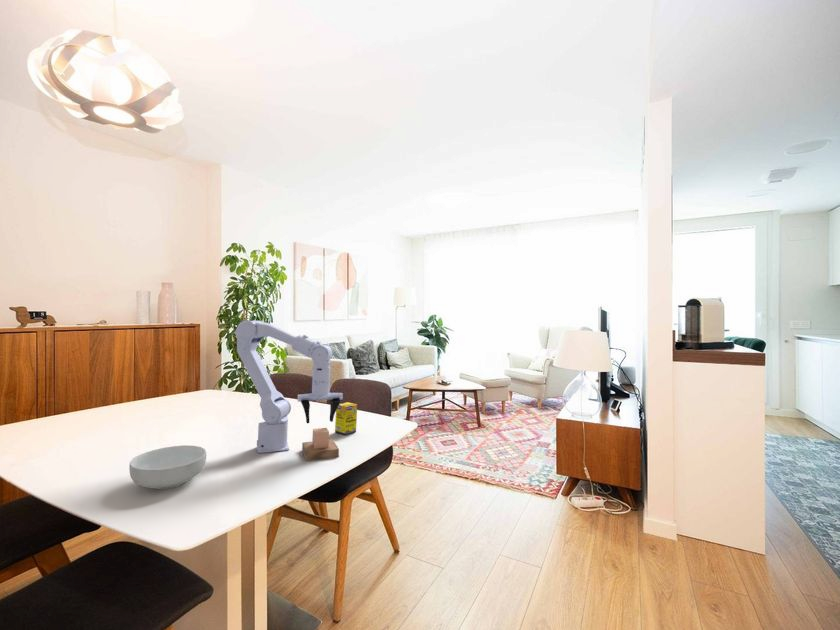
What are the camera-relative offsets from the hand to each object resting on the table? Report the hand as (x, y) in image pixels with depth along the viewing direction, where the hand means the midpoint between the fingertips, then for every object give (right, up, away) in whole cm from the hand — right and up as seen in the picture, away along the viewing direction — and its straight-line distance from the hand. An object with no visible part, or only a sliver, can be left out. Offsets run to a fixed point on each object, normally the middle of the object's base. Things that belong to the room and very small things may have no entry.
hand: (319, 421), depth 126 cm
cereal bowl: (-32, -8, -28) cm, 43 cm away
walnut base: (+1, -9, -3) cm, 10 cm away
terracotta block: (+1, -7, -3) cm, 8 cm away
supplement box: (+5, -10, +20) cm, 23 cm away
